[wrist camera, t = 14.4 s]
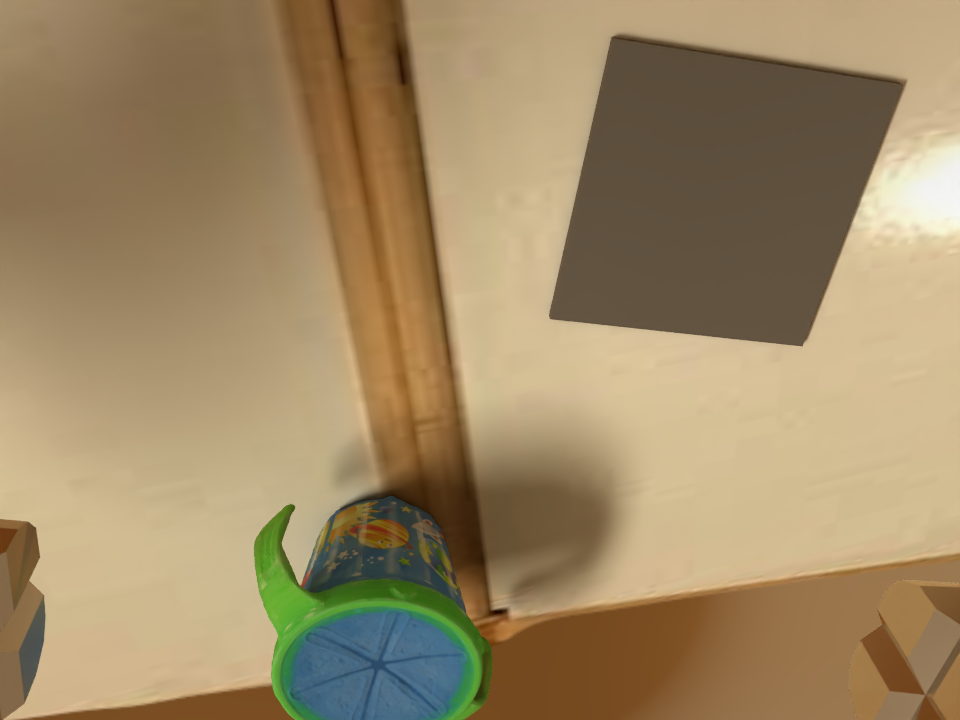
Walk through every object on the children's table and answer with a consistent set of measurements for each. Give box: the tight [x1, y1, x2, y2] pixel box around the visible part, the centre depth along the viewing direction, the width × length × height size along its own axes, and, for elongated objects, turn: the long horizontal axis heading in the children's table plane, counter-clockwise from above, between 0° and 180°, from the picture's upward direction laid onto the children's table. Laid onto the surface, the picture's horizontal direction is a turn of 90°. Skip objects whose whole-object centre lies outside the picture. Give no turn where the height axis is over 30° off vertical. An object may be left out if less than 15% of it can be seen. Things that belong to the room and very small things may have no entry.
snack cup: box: [254, 496, 492, 720], centre depth 49 cm, size 16×10×10 cm
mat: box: [549, 37, 903, 346], centre depth 45 cm, size 14×14×1 cm
